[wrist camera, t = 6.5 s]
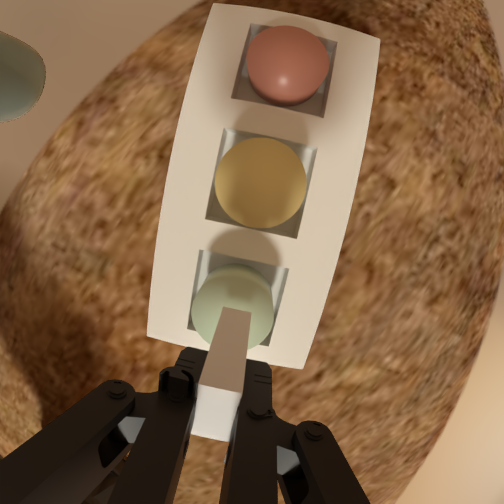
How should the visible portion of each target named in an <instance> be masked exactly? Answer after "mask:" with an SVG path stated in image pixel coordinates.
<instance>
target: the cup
mask: <svg viewBox="0 0 504 504" xmlns="http://www.w3.org/2000/svg"><path fill="white" fill-rule="evenodd" d="M45 72H46V71H45V65H44V62H43V59H42V58H41V56H40V55H39V54H38V53H37V52H36V51H35V50H34V49H33V48H32V47H31V46H29V45H27V44H26V43H24V42H22V41H20V40H18V39H17V38H14V37H12V36H10V35H8V34H6V33H3V32H1V31H0V123H1V122H8V121H12V120H15V119H18V118H19V117H21V116H23V115H25V114H26V113H27V112H28V111H30V110H31V109H32V107H33V106H34V105H35V104H36V103H37V101H38V100H39V98H40V96H41V93H42V91H43V88H44V84H45Z"/></svg>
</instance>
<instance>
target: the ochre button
mask: <svg viewBox="0 0 504 504" xmlns="http://www.w3.org/2000/svg"><path fill="white" fill-rule="evenodd" d="M306 187H307V180H306V173H305V169H304V167H303V164H302V162H301V160H300V159H299V157H298V156H297V155H296V153H295V152H294V151H293V150H292V149H291V148H289V147H288V146H287V145H285V144H283V143H282V142H279V141H277V140H274V139H270V138H251V139H247V140H244V141H242V142H240V143H238V144H236V145H235V146H233V147H232V148H231V149H229V150H228V151H227V152H226V154H225V155H224V156H223V157H222V159H221V161H220V163H219V165H218V167H217V170H216V174H215V191H216V195H217V198H218V201H219V203H220V205H221V206H222V208H223V209H224V211H225V212H226V213H227V214H228V215H229V216H230V217H231V218H232V219H234V220H235V221H237V222H238V223H240V224H243V225H245V226H248V227H253V228H269V227H273V226H276V225H279V224H281V223H283V222H285V221H286V220H288V219H289V218H291V217H292V216H293V215H294V214H295V213H296V211H297V210H298V209H299V207H300V206H301V204H302V202H303V199H304V197H305V193H306Z"/></svg>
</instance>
